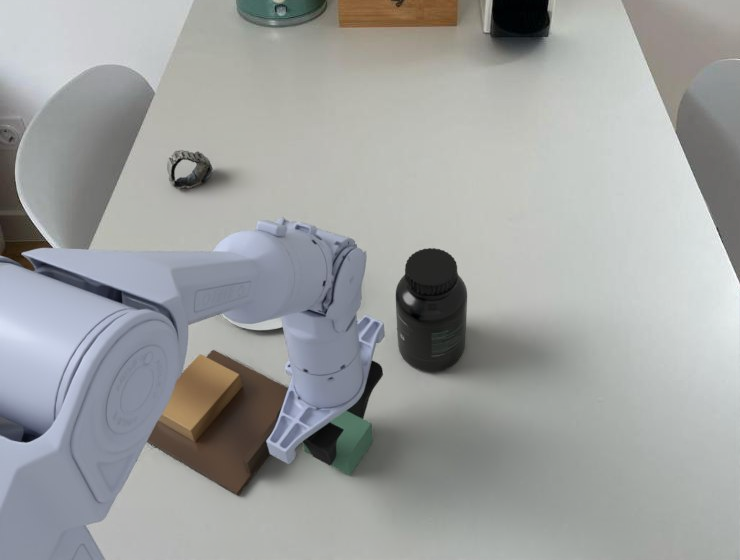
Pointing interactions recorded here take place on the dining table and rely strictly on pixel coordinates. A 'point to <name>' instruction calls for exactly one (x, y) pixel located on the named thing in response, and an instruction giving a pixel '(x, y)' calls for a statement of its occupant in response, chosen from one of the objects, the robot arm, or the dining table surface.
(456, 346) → the supplement bottle
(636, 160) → the dining table surface
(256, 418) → the dock
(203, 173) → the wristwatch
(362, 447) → the green block
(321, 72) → the dining table surface
